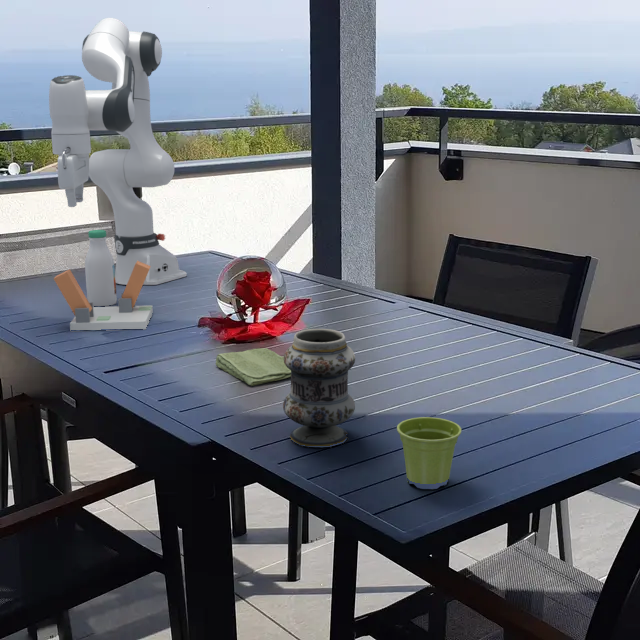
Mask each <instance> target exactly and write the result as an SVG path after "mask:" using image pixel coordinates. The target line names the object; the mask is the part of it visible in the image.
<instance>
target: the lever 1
mask: <svg viewBox="0 0 640 640" xmlns="http://www.w3.org/2000/svg"><path fill="white" fill-rule="evenodd" d="M53 281H54V282H55V283H56V286H57V287H58V290H59V291H60V293H61V294H62V296H63V297H64V299H65V301H66V303H67V305H68V306H69V308H70V310H71V312H72V313H73V315H74V316H75V308H89V312H90V311H91V310H92V307H91V305H90V304H89V302H88V300H87V296H86V295H85V292H84V291H83V289H82V288H81V286H80V285H79V283H78V281H77V279H76V278H75V275H74V274H73V272H72V270H71V268H69V269H67V270H65V271H63V272H61V273H59V274H57V275H56V276H55V277H53Z"/></svg>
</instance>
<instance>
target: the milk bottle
mask: <svg viewBox="0 0 640 640" xmlns="http://www.w3.org/2000/svg"><path fill="white" fill-rule="evenodd" d="M87 235H88V240H89V247H88V250H87V252H86V256H85V259H84V271H85V272H84V273H85V286H86V298H87V300H88V302H93V307H94V306H105V307H110V306H109V305H111V306H115V305H116V304H117V302H118V299H117V285H116V284H117V283H116V281H115V270H116V267H115V262H114V257H113V255H112V252H111V250H110V248H109V246H108V244H107V231H106V230H105V229H92V230H89V231H88V234H87Z"/></svg>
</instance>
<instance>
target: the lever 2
mask: <svg viewBox="0 0 640 640" xmlns="http://www.w3.org/2000/svg"><path fill="white" fill-rule="evenodd" d="M150 267H151V266H149V265H147V264H144V263H142V262H140V261H137V262H136V264H135V266H134V269H133V271H132V273H131V276H130V278H129V281H128V283H127V285H126V286H125V288H124V291H123V295H122V297H121V298H132V308H133V307H134V305H135V306H136V303H137V301H138V300H137V299H138V298H139V295H140V293H141V290H142V288H143V284H144V281H145V279H146V276H147V274H148V272H149V269H150Z"/></svg>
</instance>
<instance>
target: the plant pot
mask: <svg viewBox="0 0 640 640" xmlns="http://www.w3.org/2000/svg"><path fill="white" fill-rule="evenodd" d="M396 431H397V433H398V434H399V439H400V441H401V443H402V448H403V455H404V461H405V462H404V463H405V464H404V465H405V474H406V479H407V478H408V479H409V480H410V481H412V482H415V483H420V484H436V483H442V482H445V481H446V480H448V479H449V480H450V476H451V471H452V470H451V469H452V463H453V458H454V453H455V447H456V445H457V442H458V438H459V436H460V435H461V434H462V427H461V425H459V424H458V423H456V422H454V421H451V420H449V419H445V418H441V417H427V416H423V417H422V416H421V417H412V418H409V419H404V420H402V421H401V422H399V423H398V424H397V426H396Z"/></svg>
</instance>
